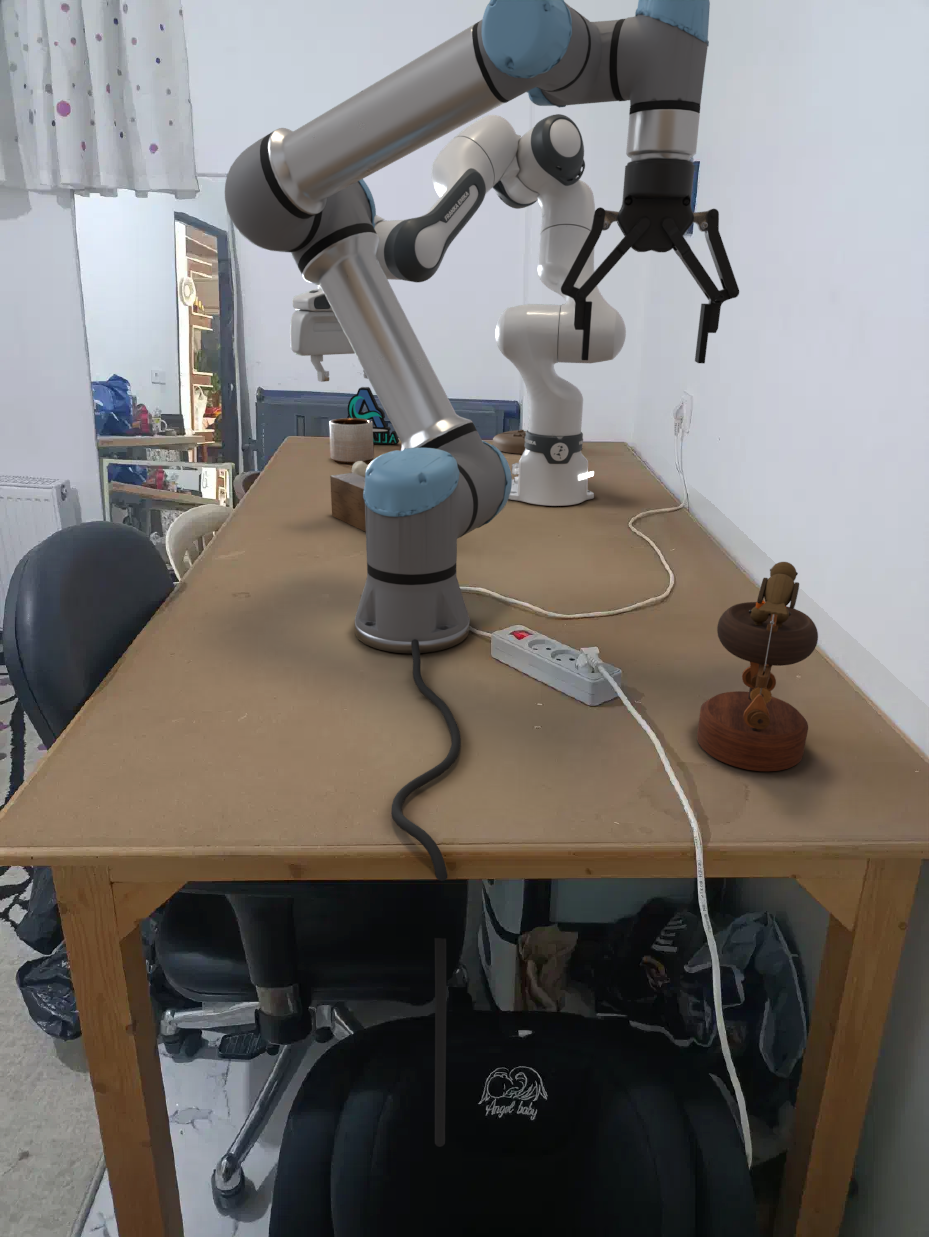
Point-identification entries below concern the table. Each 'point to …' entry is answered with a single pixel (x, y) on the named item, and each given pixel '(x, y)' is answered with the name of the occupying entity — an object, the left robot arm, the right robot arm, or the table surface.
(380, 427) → the decorative sign
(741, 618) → the wooden figurine sculpture
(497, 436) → the brown rounded slab
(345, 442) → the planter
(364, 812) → the table surface
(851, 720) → the table surface
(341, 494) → the bar
